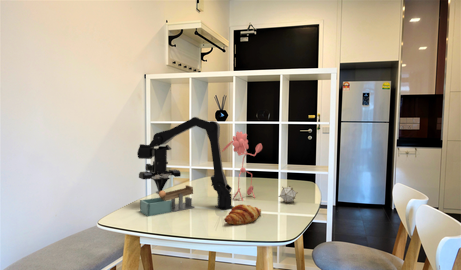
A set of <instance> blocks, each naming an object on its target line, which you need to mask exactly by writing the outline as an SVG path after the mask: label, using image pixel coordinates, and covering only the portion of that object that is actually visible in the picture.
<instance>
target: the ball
mask: <svg viewBox="0 0 461 270" xmlns="http://www.w3.org/2000/svg"><path fill="white" fill-rule="evenodd" d="M165 195H166V191H164V190H162V191H160V192H159V194H158V196H159V197H161V198H163V197H164V196H165Z"/></svg>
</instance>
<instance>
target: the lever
mask: <svg viewBox="0 0 461 270" xmlns="http://www.w3.org/2000/svg"><path fill="white" fill-rule="evenodd" d="M165 193H166V195H165V196H164V197H163V198H161V197H160V196H159V197H160V199H162V200H164V201H169V200H171V199H175V200H176V199H179V194H183V197H187V196H190V195H193V194H194V187H193V186H191V185H188V184H187V185H185V187H183V188H179V189H174V190H171V191H165ZM155 194H156V195H159V192H158V190H156V191H155Z"/></svg>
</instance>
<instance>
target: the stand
mask: <svg viewBox="0 0 461 270" xmlns="http://www.w3.org/2000/svg"><path fill="white" fill-rule="evenodd" d="M183 199H185V201H184V200H183ZM171 201H172V212H173V213H174V212H180V211H185V210H192V209H195V208H196V207H195V206H194V205H193V204H192V203H193V199H192V198H191V197H189V196H183V194H179V198H178V203H176V198H175V199H171ZM183 201H184V202H183ZM172 212H171V213H172Z"/></svg>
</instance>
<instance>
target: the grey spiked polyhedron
mask: <svg viewBox="0 0 461 270" xmlns="http://www.w3.org/2000/svg"><path fill="white" fill-rule="evenodd" d="M281 188H282V189H281V192H280V195H278V198H279V197H280V198H281V199H282V200H283V202H285V204H288V203H290V202H293V203H295V199H296V195H297V194H298V193H299V192H297V191H295V190H294V188H293V187H291V185H289V186H287V187H284V186H282V187H281Z"/></svg>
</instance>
